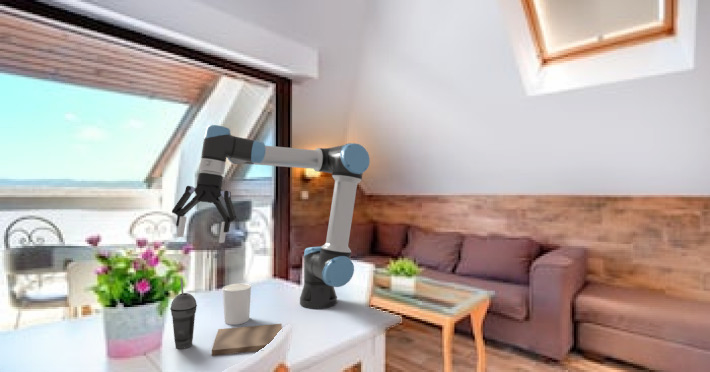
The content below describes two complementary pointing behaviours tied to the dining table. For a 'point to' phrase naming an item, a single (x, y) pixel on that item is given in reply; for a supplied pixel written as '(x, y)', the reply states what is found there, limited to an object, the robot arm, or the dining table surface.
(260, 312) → the dining table surface
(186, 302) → the beverage cup
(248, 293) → the candle holder
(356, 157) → the robot arm
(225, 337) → the walnut board
